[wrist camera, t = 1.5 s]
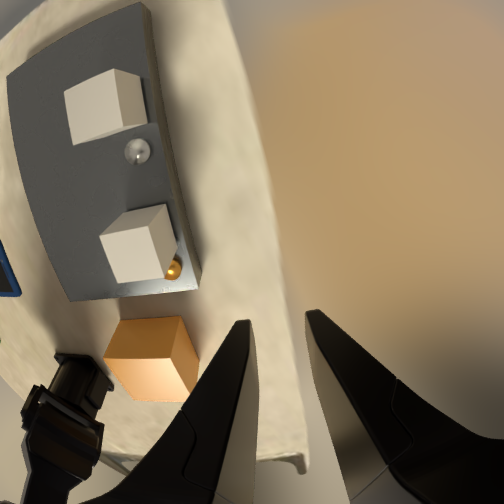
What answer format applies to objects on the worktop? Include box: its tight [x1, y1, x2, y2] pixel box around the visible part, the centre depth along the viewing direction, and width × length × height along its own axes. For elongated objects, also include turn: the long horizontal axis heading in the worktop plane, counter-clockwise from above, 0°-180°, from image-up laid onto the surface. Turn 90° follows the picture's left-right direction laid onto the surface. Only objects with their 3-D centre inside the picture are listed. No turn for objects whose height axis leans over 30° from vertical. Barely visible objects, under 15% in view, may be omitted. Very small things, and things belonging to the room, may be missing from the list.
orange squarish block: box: [103, 316, 200, 402], centre depth 22 cm, size 6×6×5 cm
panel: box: [6, 2, 202, 302], centre depth 16 cm, size 12×20×2 cm, turn 8°
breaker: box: [64, 69, 148, 145], centre depth 11 cm, size 3×3×4 cm
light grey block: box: [99, 204, 178, 283], centre depth 15 cm, size 3×3×4 cm
